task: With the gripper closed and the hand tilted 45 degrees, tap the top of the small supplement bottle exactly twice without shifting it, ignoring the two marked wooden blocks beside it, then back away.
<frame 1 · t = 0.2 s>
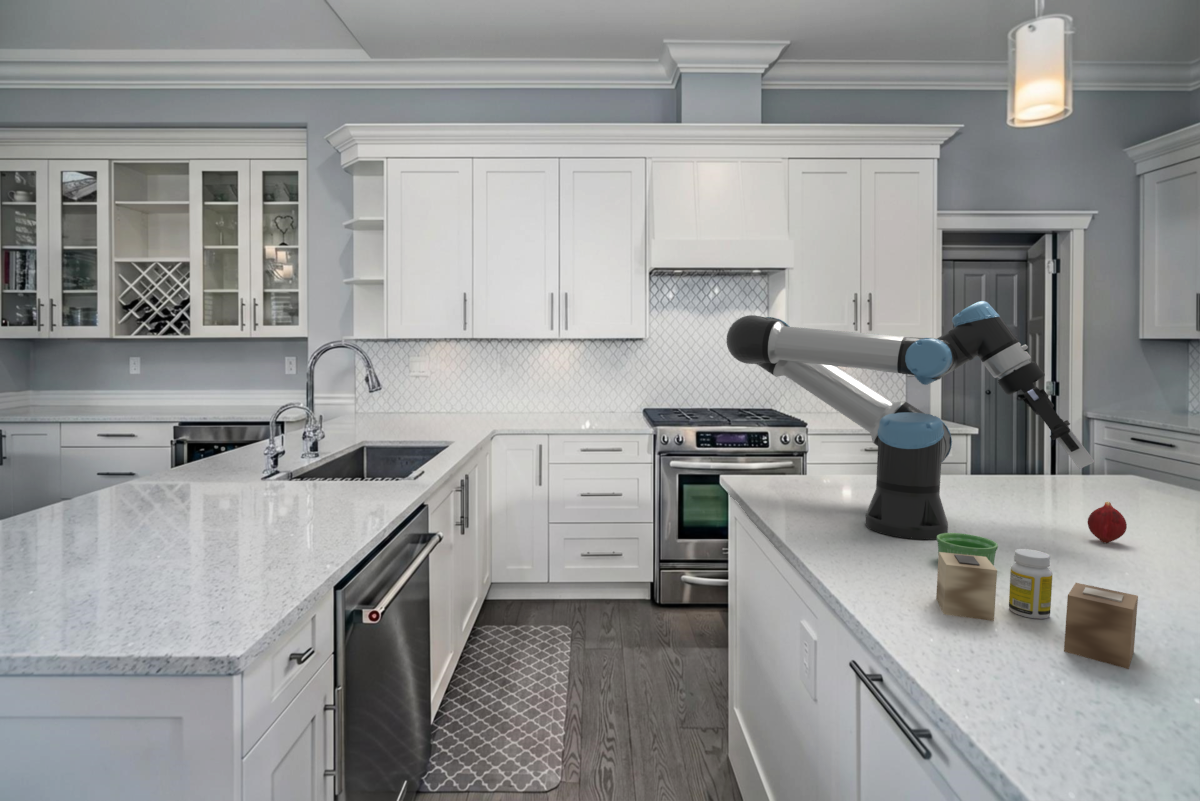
hand: (1084, 461, 121), 15 cm above the countertop, tool tilted 35°, fingers open, 13 cm apart
walnut block: (1098, 652, 76), on the countertop
supplement bottle: (1028, 614, 87), on the countertop
ramekin: (965, 566, 107), on the countertop
maple block: (963, 609, 88), on the countertop
onion: (1105, 544, 121), on the countertop
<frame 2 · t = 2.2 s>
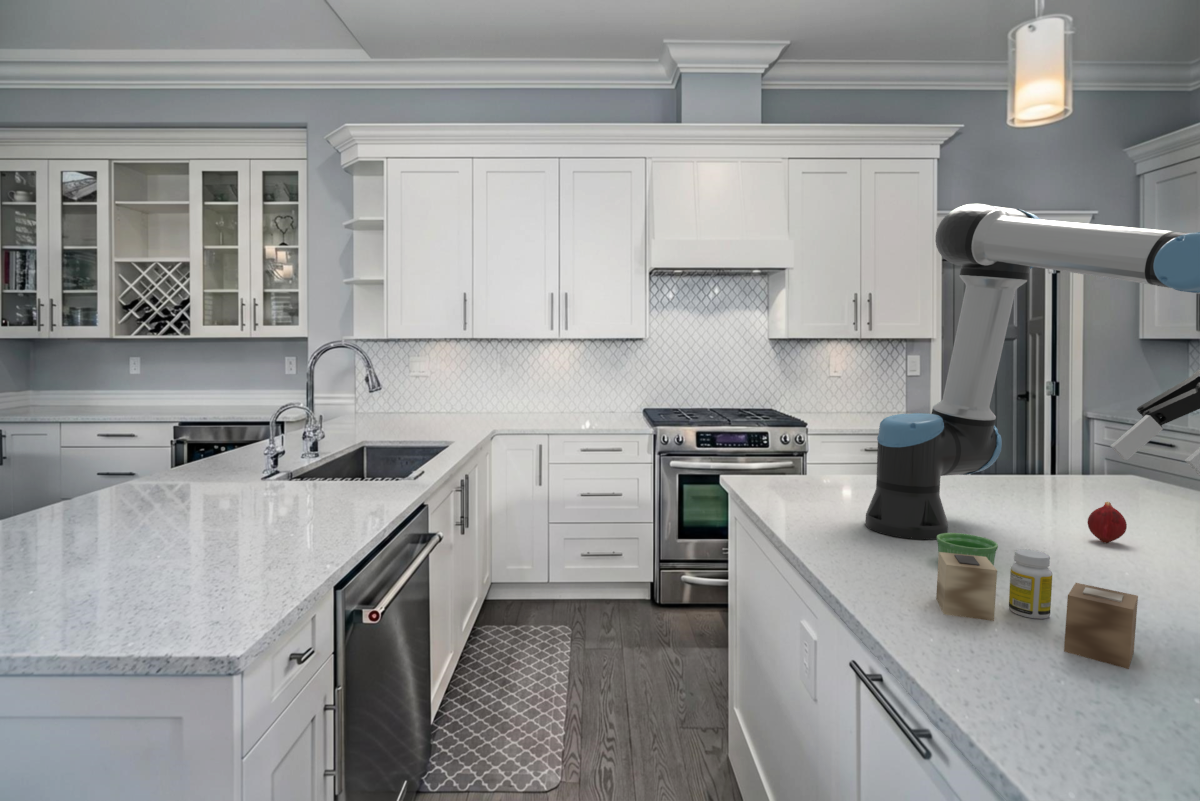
hand: (1153, 460, 84), 22 cm above the countertop, tool tilted 45°, fingers open, 12 cm apart
nothing on the countertop moved.
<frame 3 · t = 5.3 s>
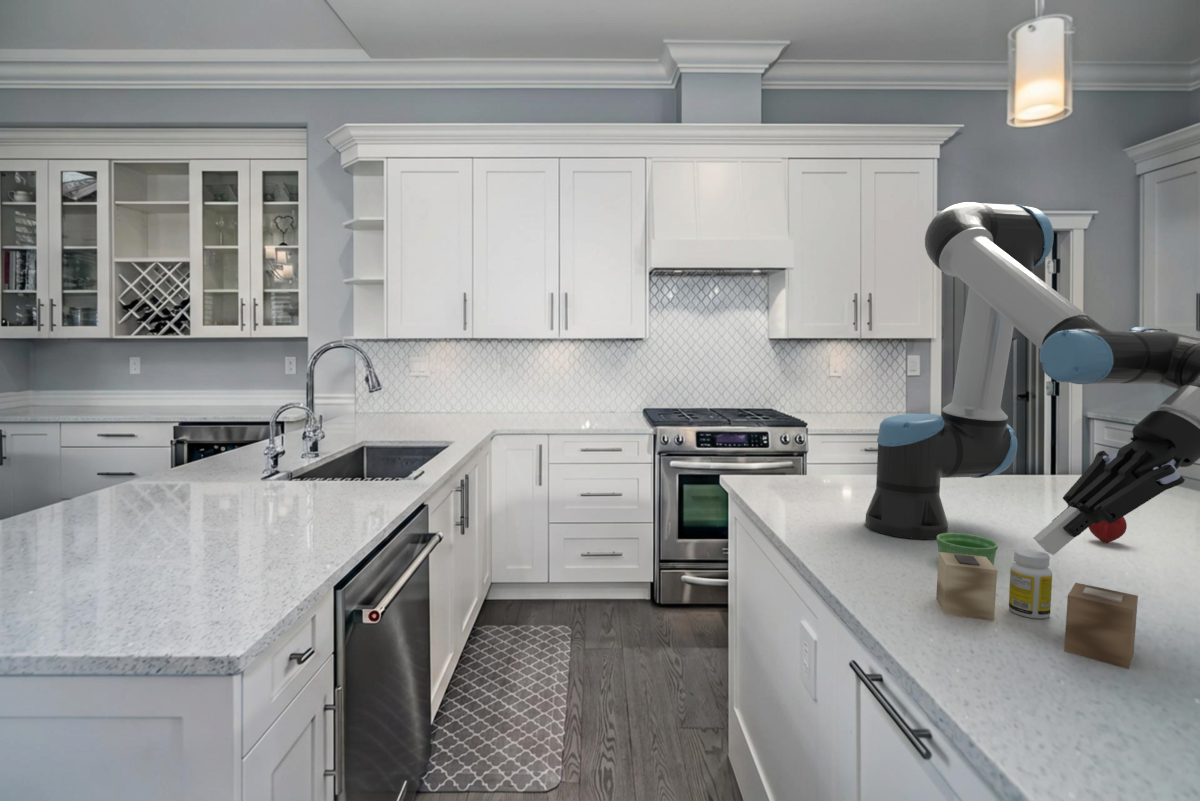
hand: (1043, 546, 86), 9 cm above the countertop, tool tilted 45°, fingers closed
supplement bottle: (1028, 613, 87), on the countertop, touching gripper
everything else where it was.
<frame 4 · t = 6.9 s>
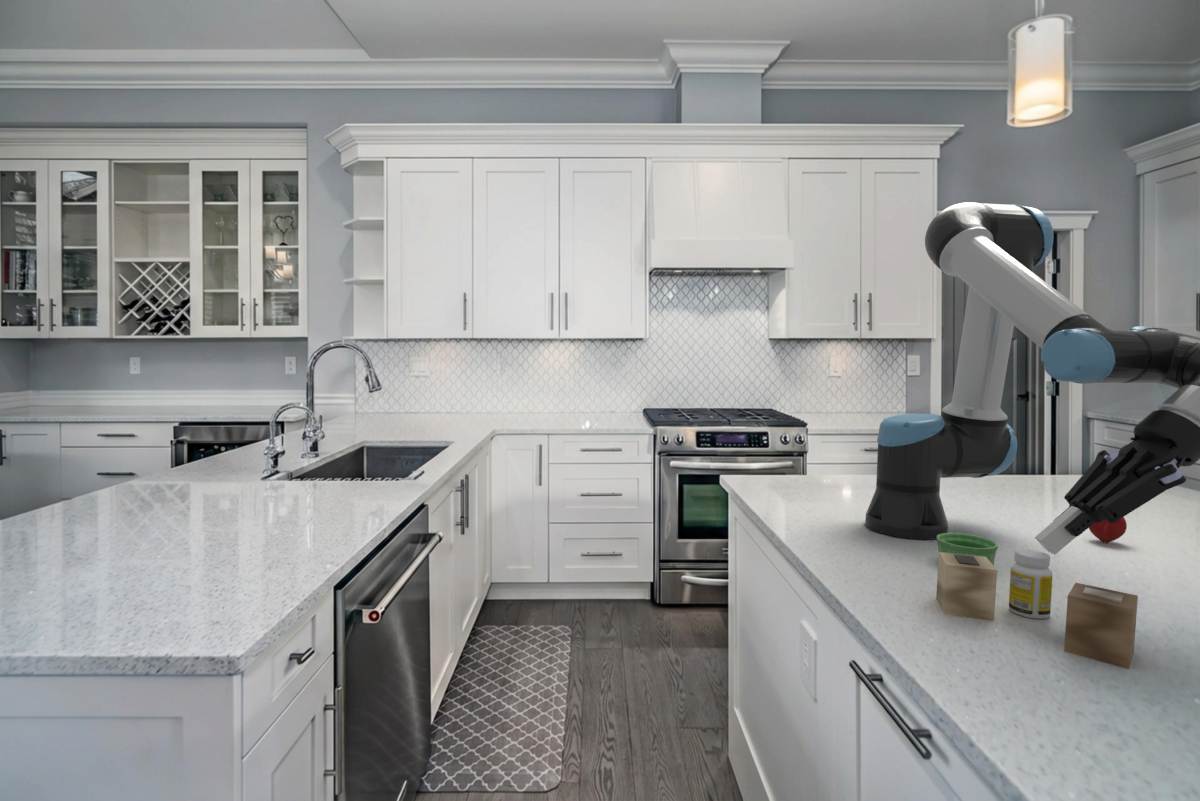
hand: (1044, 546, 86), 9 cm above the countertop, tool tilted 45°, fingers closed
supplement bottle: (1028, 614, 87), on the countertop
everything else where it was.
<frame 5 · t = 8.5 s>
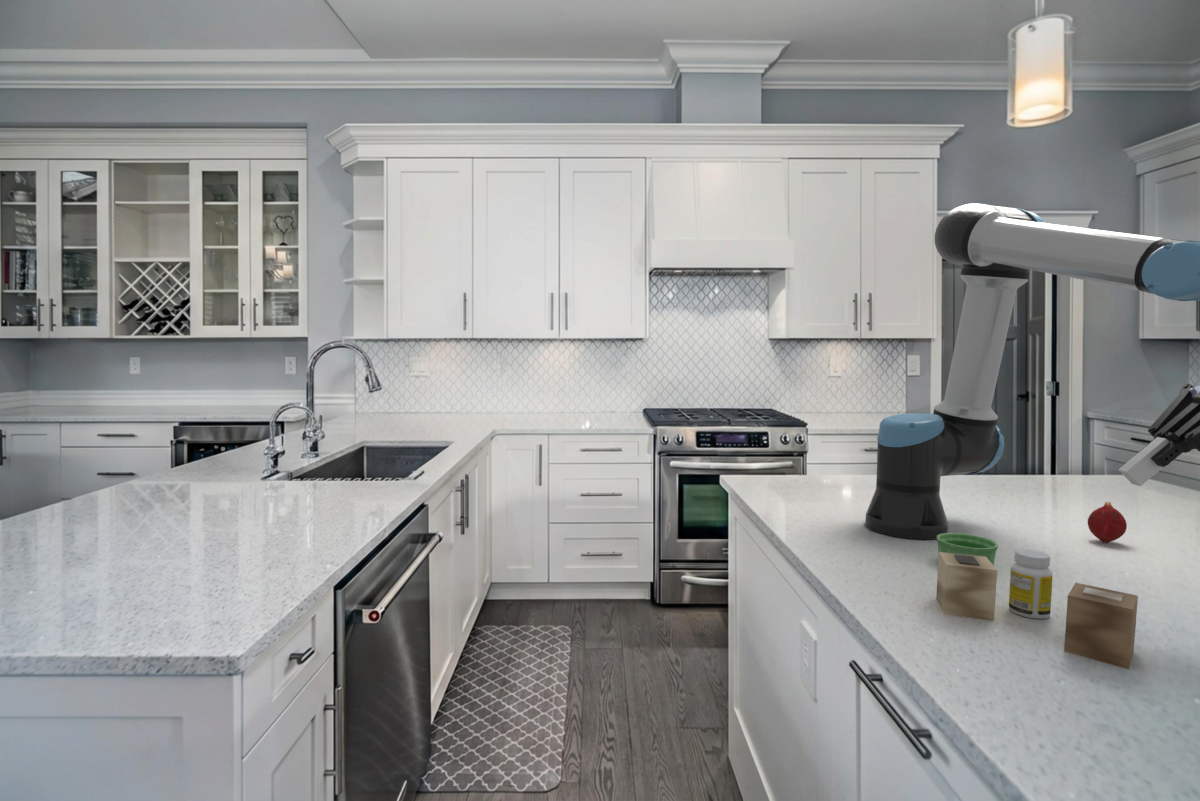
hand: (1129, 477, 85), 19 cm above the countertop, tool tilted 45°, fingers closed
nothing on the countertop moved.
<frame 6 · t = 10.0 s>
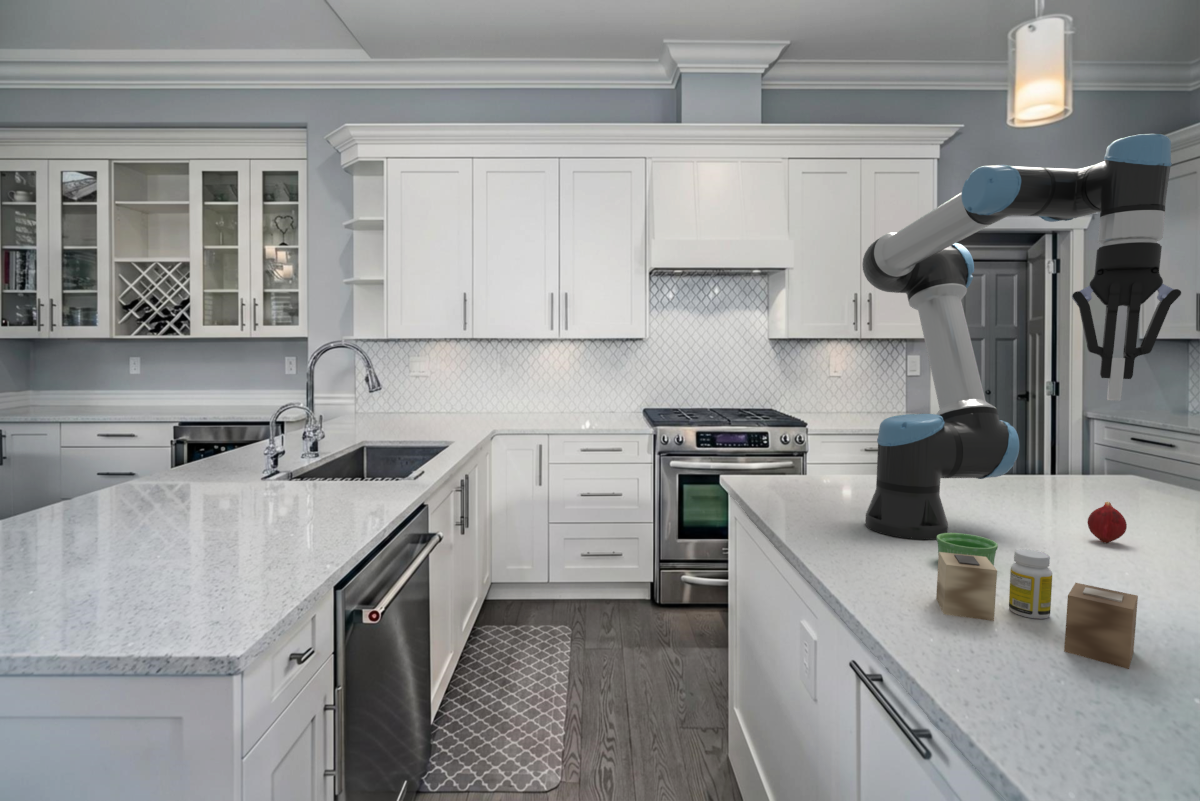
hand: (1113, 400, 97), 29 cm above the countertop, tool pointing down, fingers closed
nothing on the countertop moved.
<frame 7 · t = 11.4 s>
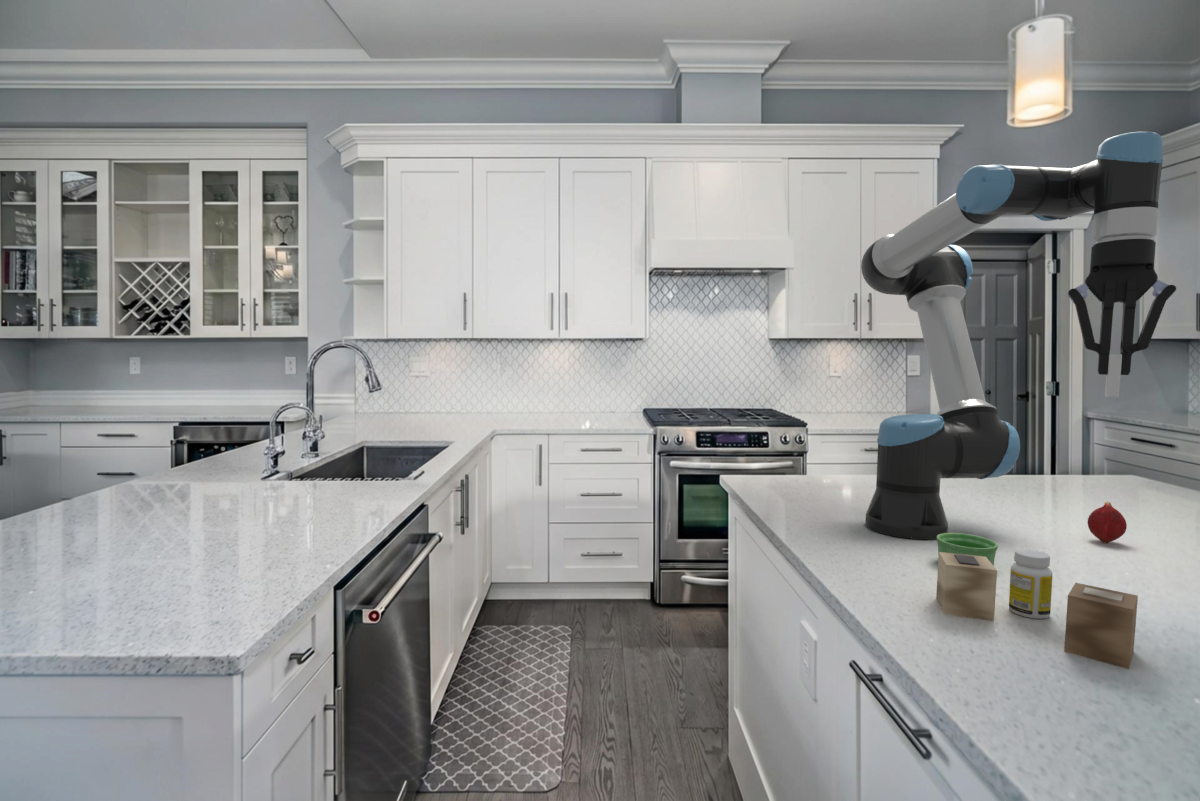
hand: (1111, 396, 97), 29 cm above the countertop, tool pointing down, fingers closed
nothing on the countertop moved.
at the end: supplement bottle moved 0.2 cm from its start; supplement bottle tilted 0°; supplement bottle touching countertop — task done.
